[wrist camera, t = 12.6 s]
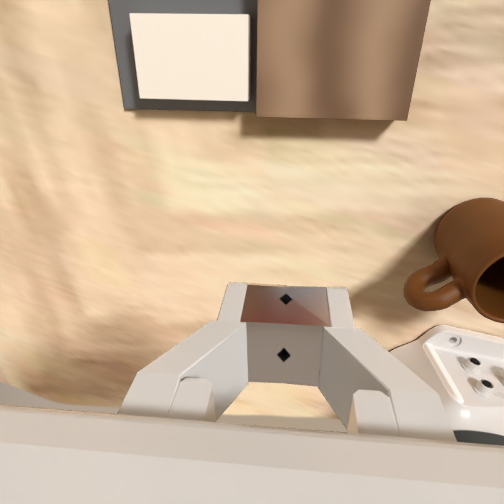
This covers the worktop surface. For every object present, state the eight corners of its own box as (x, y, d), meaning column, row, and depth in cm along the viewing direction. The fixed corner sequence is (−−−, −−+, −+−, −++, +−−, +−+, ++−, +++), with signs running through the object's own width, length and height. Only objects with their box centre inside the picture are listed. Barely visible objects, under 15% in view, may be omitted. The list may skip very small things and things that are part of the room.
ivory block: (251, 15, 30) (248, 14, 28) (250, 97, 33) (247, 101, 31) (138, 14, 31) (129, 13, 29) (147, 95, 34) (139, 98, 32)
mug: (396, 285, 41) (421, 348, 33) (378, 225, 38) (400, 278, 30) (520, 251, 38) (582, 311, 30) (511, 182, 35) (578, 228, 26)
